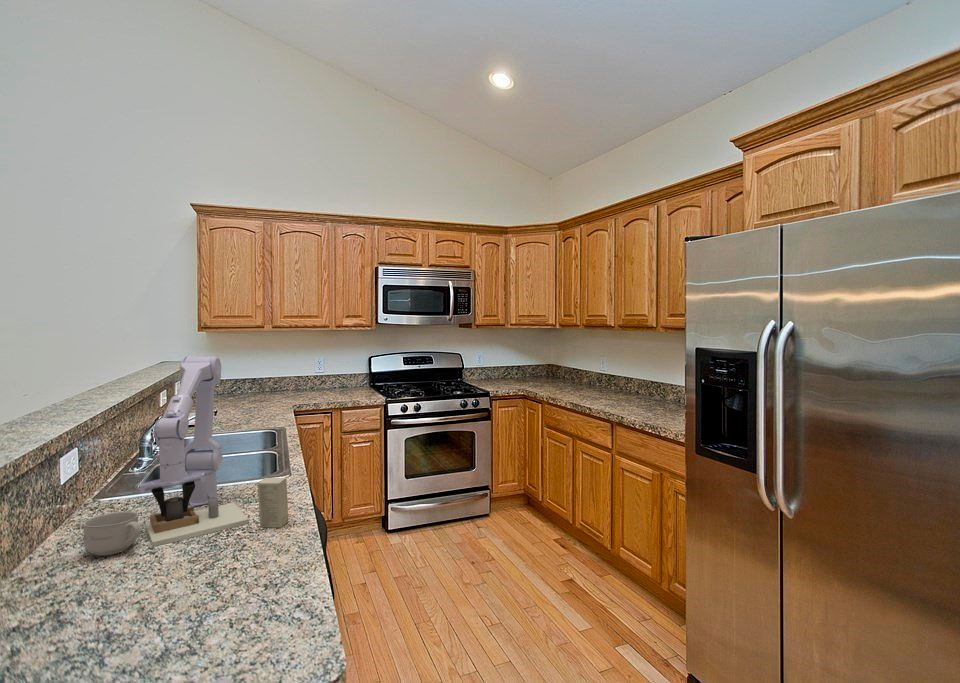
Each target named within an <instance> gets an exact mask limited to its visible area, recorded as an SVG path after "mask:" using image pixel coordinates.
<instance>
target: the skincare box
mask: <svg viewBox="0 0 960 683" xmlns="http://www.w3.org/2000/svg"><path fill="white" fill-rule="evenodd" d="M257 496H258V512H259V515H258V517H259V527H260V528H275V529H276V528H282V527H283V526H285V525H286V524H287V523H288V522H289V506H288V505H289V504H288V485H287V478H286V477H265V478H263V479H261V480H260V481H258V482H257Z"/></svg>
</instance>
